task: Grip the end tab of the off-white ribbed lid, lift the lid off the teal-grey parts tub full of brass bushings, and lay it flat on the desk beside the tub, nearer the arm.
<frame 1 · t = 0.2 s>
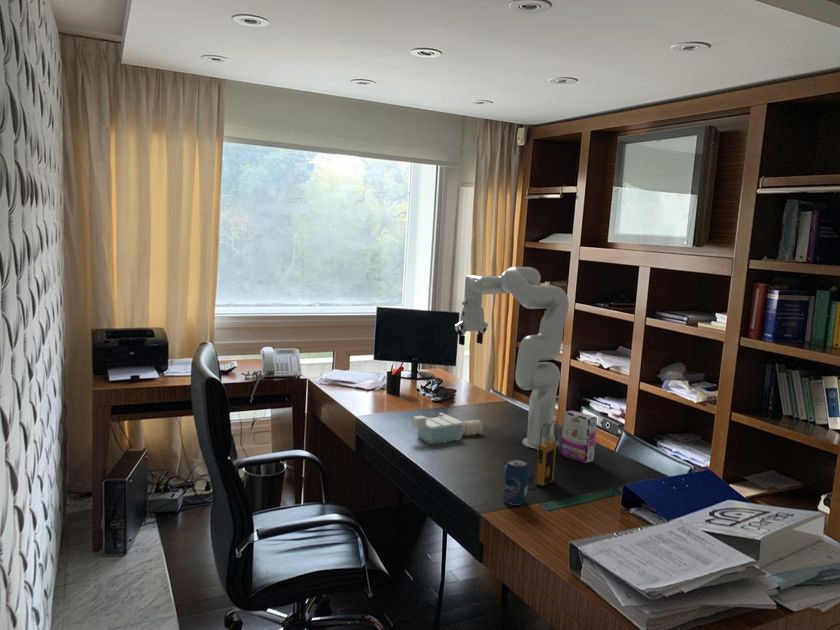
hand: (470, 344, 269), 31 cm above the table, tool pointing down, fingers open, 9 cm apart
gavel: (454, 426, 257), on the table
candy bar box: (576, 459, 223), on the table
tub: (439, 438, 239), on the table
lid: (440, 423, 238), point 6 cm above the table, touching tub
multimeter: (533, 480, 201), on the table
soda can: (514, 502, 184), on the table
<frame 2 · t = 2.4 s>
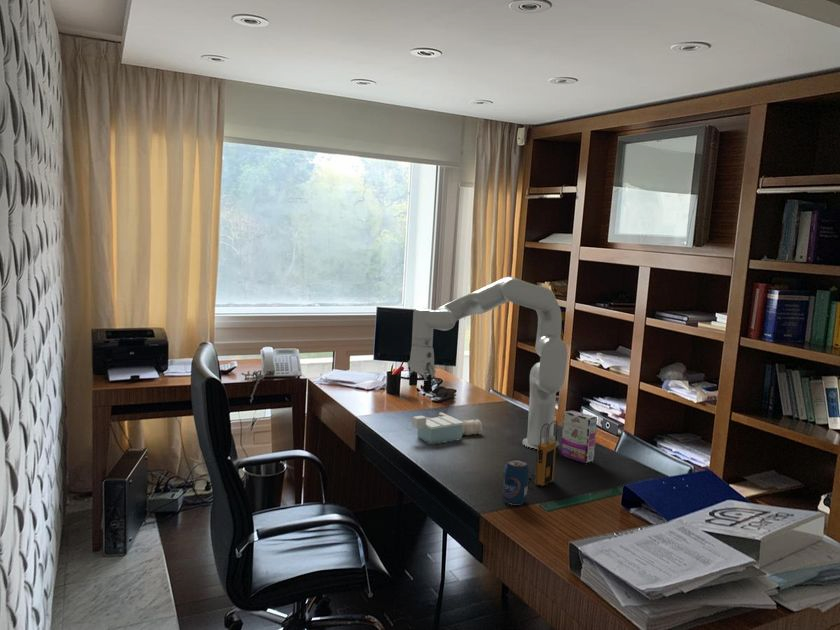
hand: (419, 388, 231), 20 cm above the table, tool pointing down, fingers open, 9 cm apart
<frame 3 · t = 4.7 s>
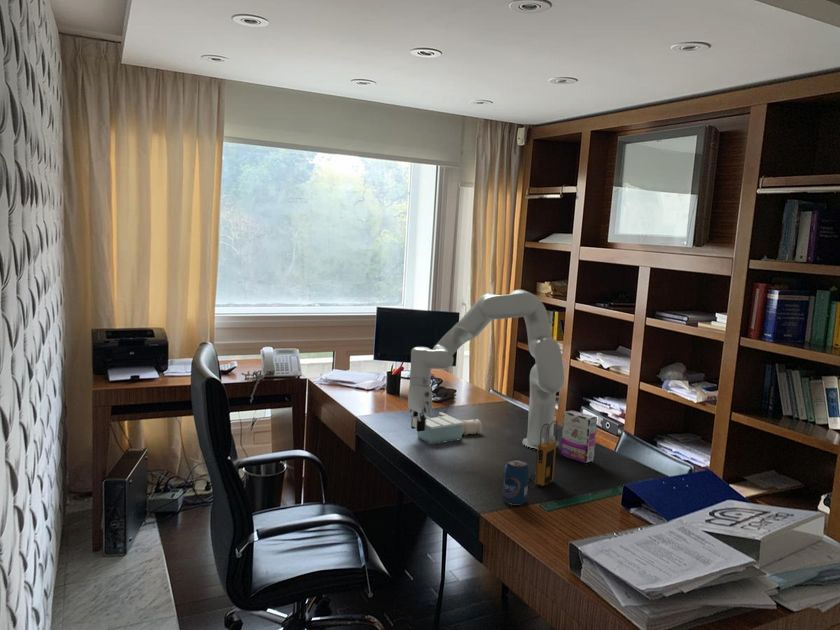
hand: (417, 429, 232), 5 cm above the table, tool pointing down, fingers closed on lid, 3 cm apart
lid: (440, 423, 238), point 6 cm above the table, touching gripper, tub
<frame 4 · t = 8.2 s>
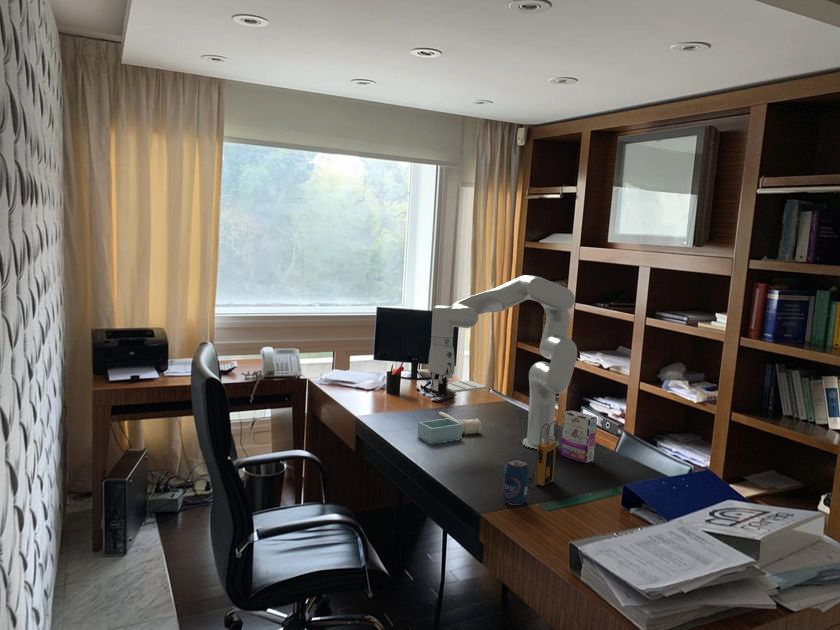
hand: (439, 392, 220), 22 cm above the table, tool pointing down, fingers closed on lid, 3 cm apart
lid: (462, 387, 225), point 23 cm above the table, touching gripper
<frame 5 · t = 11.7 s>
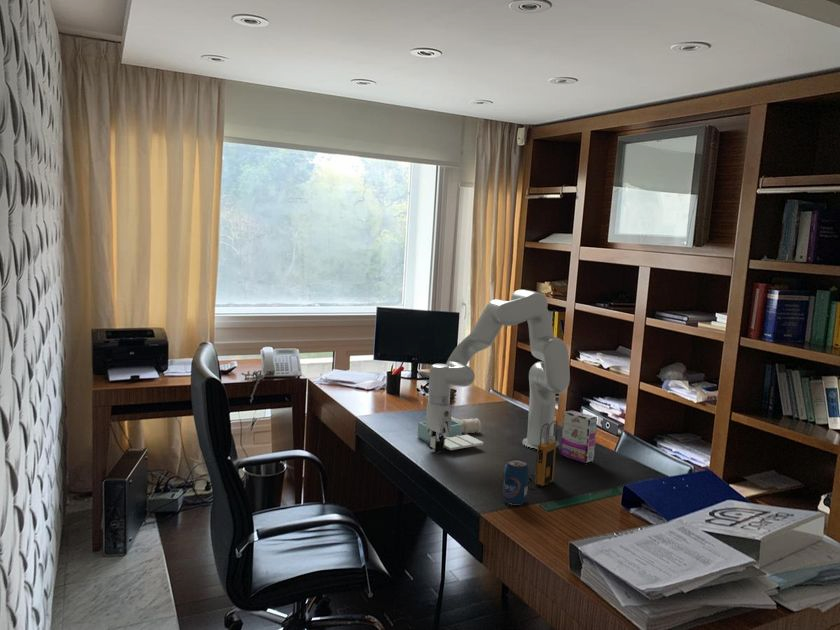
hand: (436, 449, 223), 1 cm above the table, tool pointing down, fingers closed on lid, 3 cm apart
lid: (459, 443, 228), point 2 cm above the table, touching gripper
when the fingers open (1 cm above the table, at t = 12.1 s): lid drops 2 cm, on the table.
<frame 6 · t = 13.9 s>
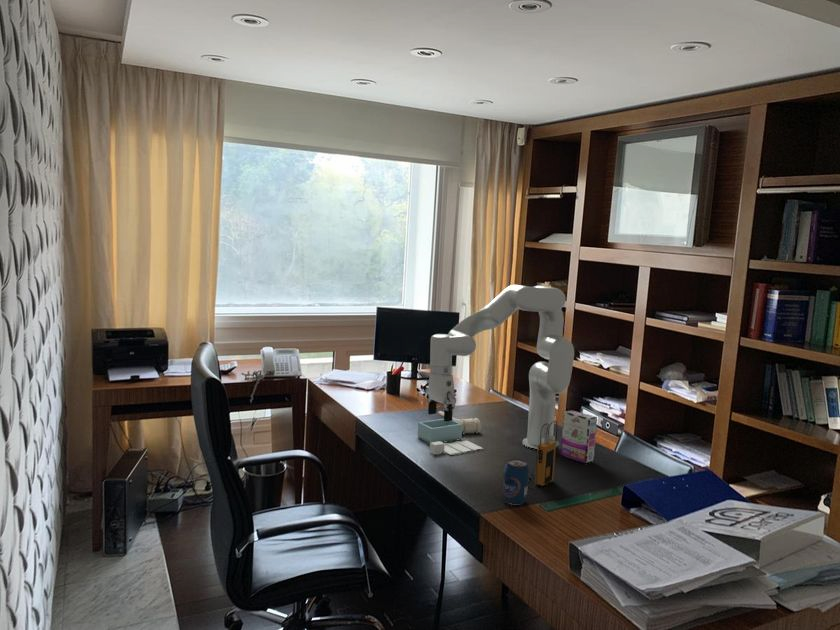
hand: (440, 417, 221), 13 cm above the table, tool pointing down, fingers open, 9 cm apart
lid: (458, 449, 228), on the table
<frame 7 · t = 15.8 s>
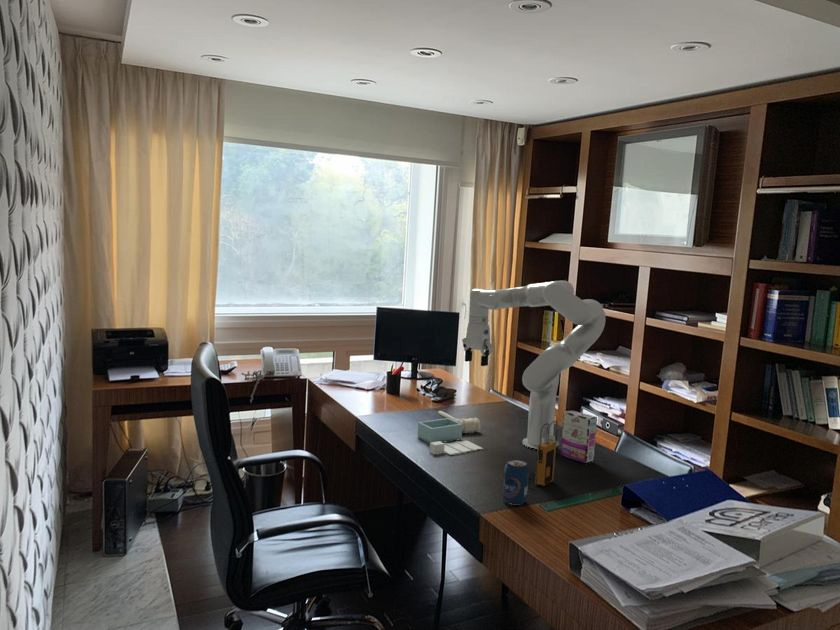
hand: (476, 363, 248), 27 cm above the table, tool pointing down, fingers open, 9 cm apart
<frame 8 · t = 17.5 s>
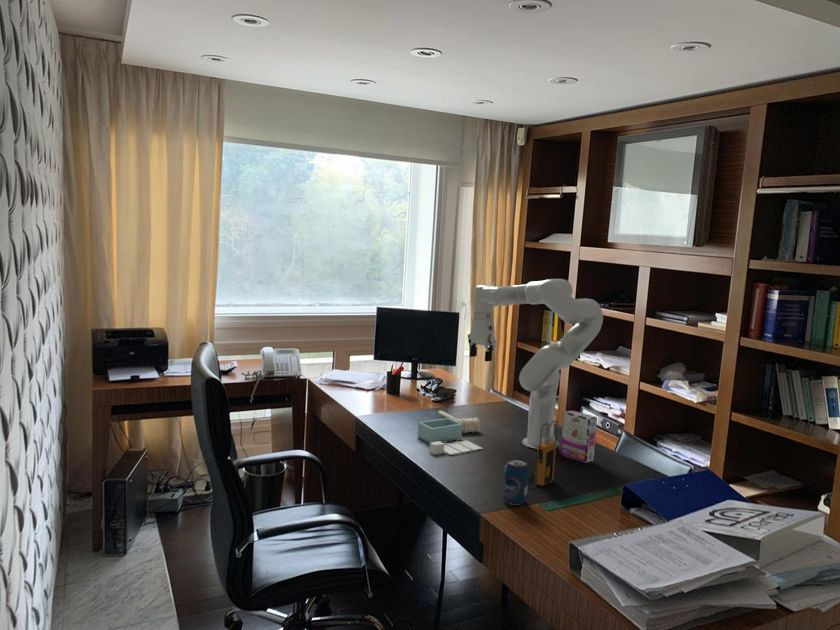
hand: (480, 358, 252), 28 cm above the table, tool pointing down, fingers open, 9 cm apart
at the end: lid inside the target area (1.9 cm from its centre), on the table; lid touching table; lid tilted 0° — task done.
